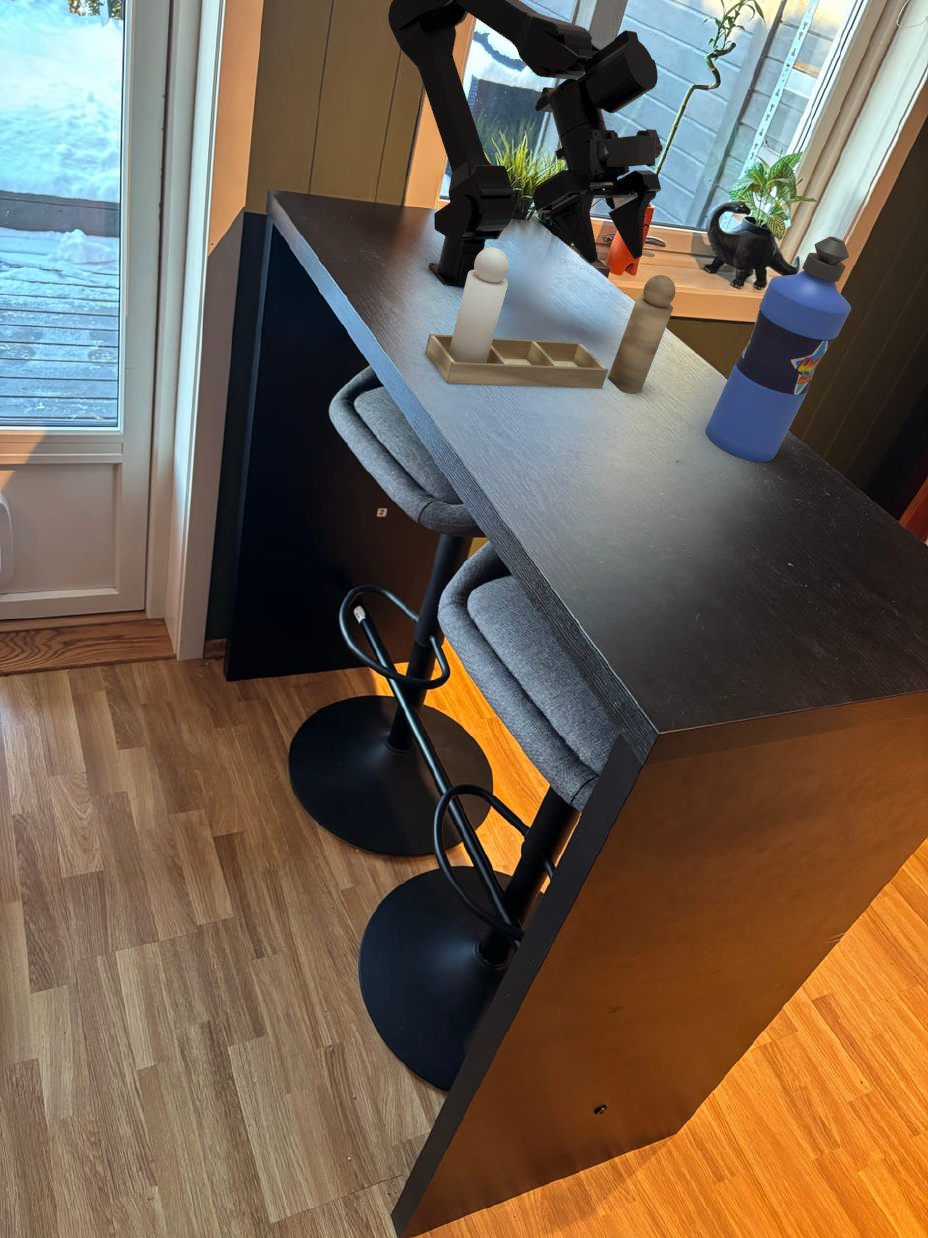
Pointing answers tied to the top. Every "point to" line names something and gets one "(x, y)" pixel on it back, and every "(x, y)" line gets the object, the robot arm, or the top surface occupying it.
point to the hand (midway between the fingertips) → (616, 259)
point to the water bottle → (781, 356)
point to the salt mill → (480, 307)
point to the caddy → (521, 364)
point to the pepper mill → (643, 335)
